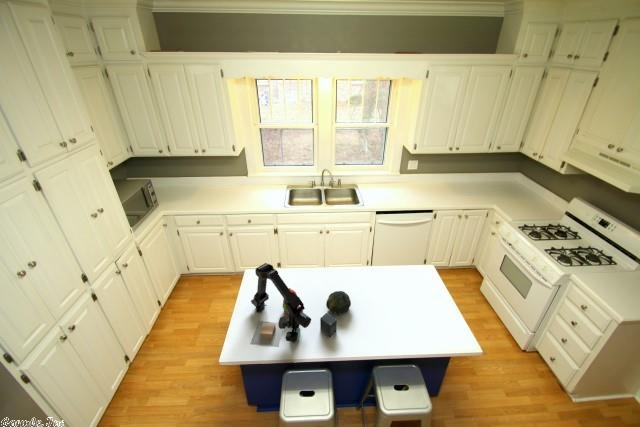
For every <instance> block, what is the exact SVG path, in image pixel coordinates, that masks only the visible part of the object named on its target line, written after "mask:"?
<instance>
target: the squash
mask: <svg viewBox="0 0 640 427" xmlns="http://www.w3.org/2000/svg"><path fill="white" fill-rule="evenodd" d="M325 303H326V305H325V306H326V308H327V309H328V311H329V313H331V314H333V315H337V316H339V315H344V314H347V313H349V311H350V307H351V305H352V302H351V298H350V296H349V295H348V293H346V292H345V291H344V290H337V291H333V292H331V293H330V294H329V295H328V298H327V299H326V302H325Z"/></svg>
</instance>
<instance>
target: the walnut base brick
mask: <svg viewBox="0 0 640 427" xmlns="http://www.w3.org/2000/svg"><path fill="white" fill-rule="evenodd" d="M275 329H276V327H275V324H270V323H263V325H262V328H261V331H260V338H267V339H273V336H274V333H275Z"/></svg>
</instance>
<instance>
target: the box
mask: <svg viewBox="0 0 640 427" xmlns="http://www.w3.org/2000/svg"><path fill="white" fill-rule="evenodd" d="M319 320H320V321H319V323H320V324H319V327H320V328H319V330H320V332H322V333H323V334H324V335H326V337H328V338H330V339H331V338H332V337H333V336H334V335H335V334H336V333H337V323H338V320H337V319H336V318H335V317H333V316H332V315H331V314H329V313H328V312H326V313H324V315H322V316H321V317H320V318H319Z"/></svg>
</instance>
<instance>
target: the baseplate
mask: <svg viewBox="0 0 640 427" xmlns="http://www.w3.org/2000/svg"><path fill="white" fill-rule="evenodd" d="M263 323H270V324H275V327H276V329H275V333H274V336H273V339H267V338H260V331H261V328H262V325H263ZM254 330H255V331H254V332H253V336H252V338H251V340H250V345H256V346H257V345H258V346H266V347H267V346H268V347H275V348H279V346H280V343H281V341H282V340H281V339H282V336H283V332H284V329H280V328H279V323H278V321H277V322H274V321H265V320H264V321H263V320H258V322H257V325H256V327H255V329H254Z"/></svg>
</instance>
